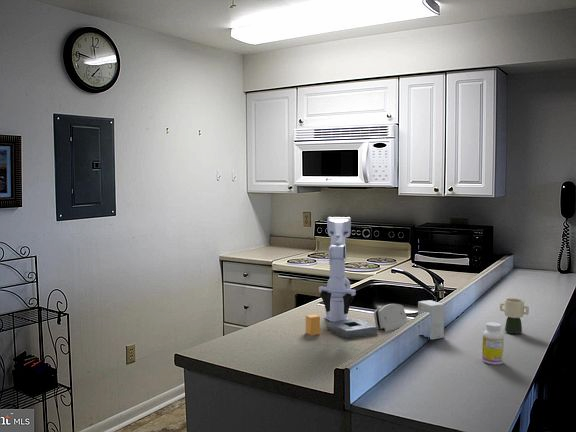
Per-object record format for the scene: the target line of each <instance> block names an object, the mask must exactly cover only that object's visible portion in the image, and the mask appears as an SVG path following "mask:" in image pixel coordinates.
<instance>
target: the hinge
mask: <svg viewBox="0 0 576 432" xmlns="http://www.w3.org/2000/svg"><path fill="white" fill-rule="evenodd" d="M407 317H408V316H407V314H406V311H405V308H404V305H402V304H399V303H389V304H385V305H382V306H380V307H378V308H377V309H375V311H374V312H373V318H374V323H375V324H374V325H375V326H377V330H380V329H382V330H383V329H384V331H385V332H386V333H387V332H389V331H392V330H397V329H400V328H402V327H401V326H403V325H404V324H406V323H407V322H409V321H410V322H411V320H410V319H409V318H407ZM399 327H400V328H399Z"/></svg>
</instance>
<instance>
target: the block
mask: <svg viewBox="0 0 576 432" xmlns="http://www.w3.org/2000/svg"><path fill="white" fill-rule="evenodd" d="M320 323H321V317H320V315H318V314H316V313H314V314H313V313H312V314H306V315H305V334H307V333H308V334H307V335H309V334H310V335H309V336H317V335H320V334H321V331H320V330H321V328H320ZM316 334H317V335H316Z"/></svg>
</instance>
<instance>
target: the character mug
mask: <svg viewBox="0 0 576 432" xmlns="http://www.w3.org/2000/svg"><path fill="white" fill-rule="evenodd" d="M503 306H504V308H503ZM499 310H500V311H501V312H504V313H503V314H504V316H506V321H505V326H504V331H505V332H507V333H510V334H520V333H522V332H523V327H522V320H521V318H523V317H524V315H529V313H530V312H529V311H530V307H529V306H527V305H525V300H523V299H521V298H516V297H515V298H514V297H513V298H511V297H509V298H504V302H500V304H499Z"/></svg>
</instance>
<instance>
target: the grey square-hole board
mask: <svg viewBox="0 0 576 432" xmlns="http://www.w3.org/2000/svg"><path fill="white" fill-rule="evenodd" d="M327 330H329V332H332V333H334V334H336V335H338V336H340V337H342V338H344V339H346V340H347V339H354V338H355V339H356V338H361V337H366V336H367V337H368V336H373V335H378V329H377V326H376V324H372V323H370V322H367V321H366V320H362V319H360V318H358V317H356V318H348V319H347V320H340V321H328V322H327Z"/></svg>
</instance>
